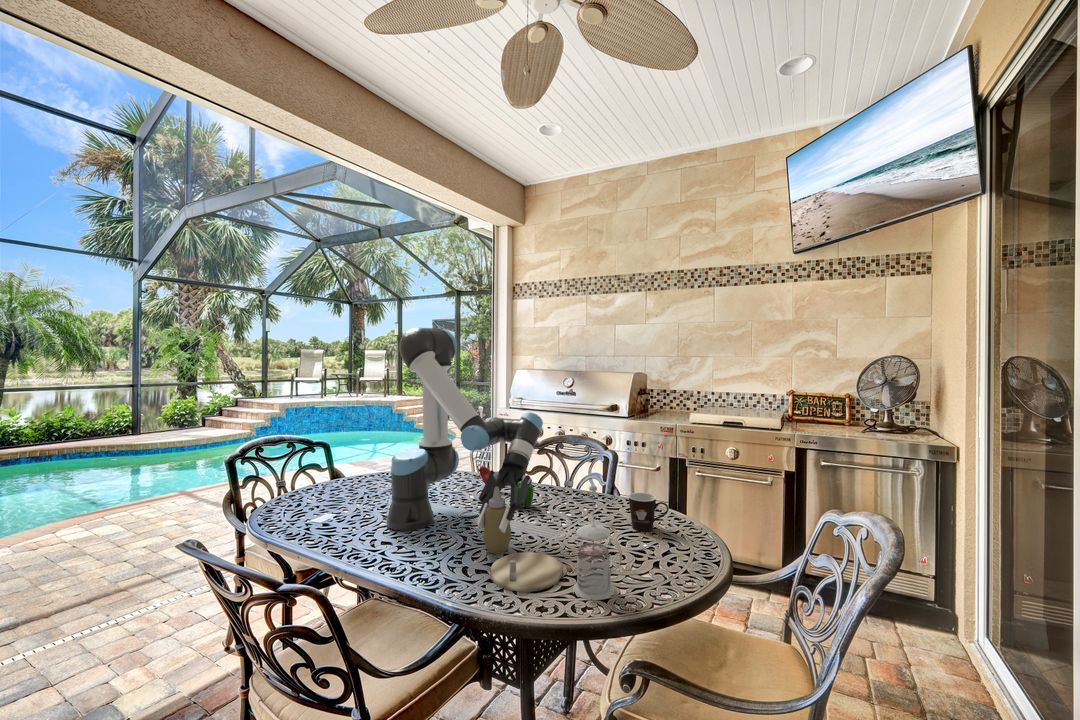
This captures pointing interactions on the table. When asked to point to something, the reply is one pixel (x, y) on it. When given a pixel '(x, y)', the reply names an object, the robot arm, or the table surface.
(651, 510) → the coffee mug
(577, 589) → the french press
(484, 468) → the decorative bird figurine
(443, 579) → the table surface
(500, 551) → the squeeze bottle
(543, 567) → the round beige plate
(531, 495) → the bell pepper
